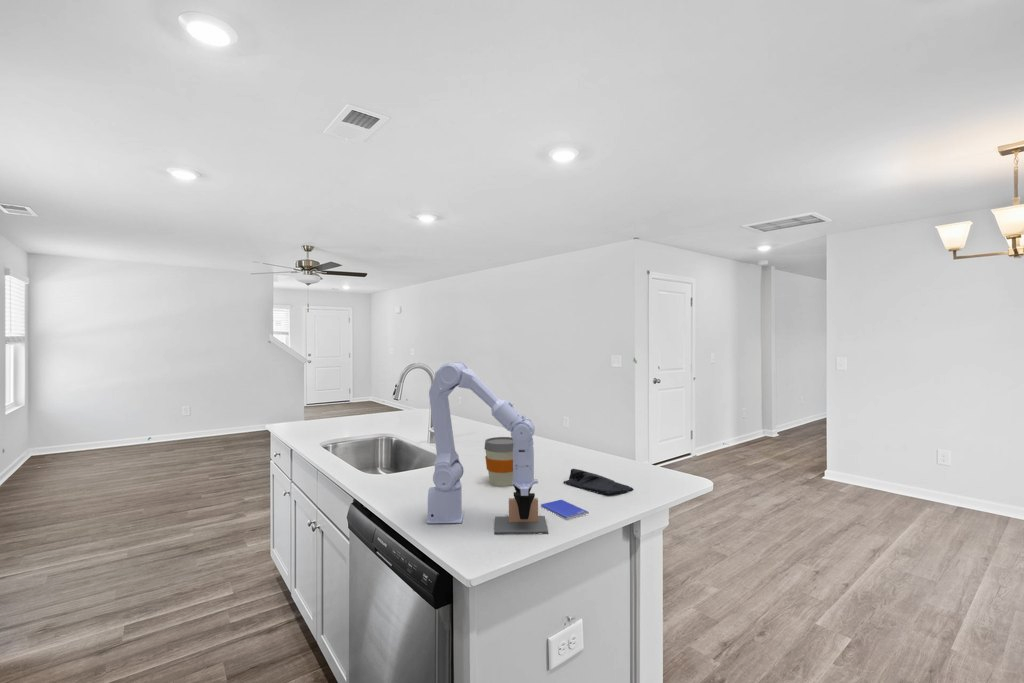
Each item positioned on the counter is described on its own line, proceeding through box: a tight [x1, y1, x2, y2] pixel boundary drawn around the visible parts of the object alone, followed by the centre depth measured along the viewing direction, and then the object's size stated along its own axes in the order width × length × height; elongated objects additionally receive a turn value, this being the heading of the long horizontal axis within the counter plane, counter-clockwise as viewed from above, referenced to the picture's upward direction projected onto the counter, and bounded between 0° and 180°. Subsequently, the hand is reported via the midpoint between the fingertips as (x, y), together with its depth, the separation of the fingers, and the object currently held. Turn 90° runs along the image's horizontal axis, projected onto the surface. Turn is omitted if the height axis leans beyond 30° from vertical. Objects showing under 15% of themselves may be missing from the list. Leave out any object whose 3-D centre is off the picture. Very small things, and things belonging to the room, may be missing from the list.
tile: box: [508, 497, 539, 522], centre depth 130 cm, size 8×2×6 cm, turn 91°
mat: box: [493, 515, 549, 535], centre depth 128 cm, size 14×11×1 cm
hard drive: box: [540, 499, 590, 521], centre depth 139 cm, size 2×8×12 cm
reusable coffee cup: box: [484, 436, 513, 488], centre depth 167 cm, size 13×13×15 cm
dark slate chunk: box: [563, 468, 634, 496], centre depth 163 cm, size 15×22×5 cm
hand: (523, 513), depth 130 cm, fingers open, 7 cm apart
